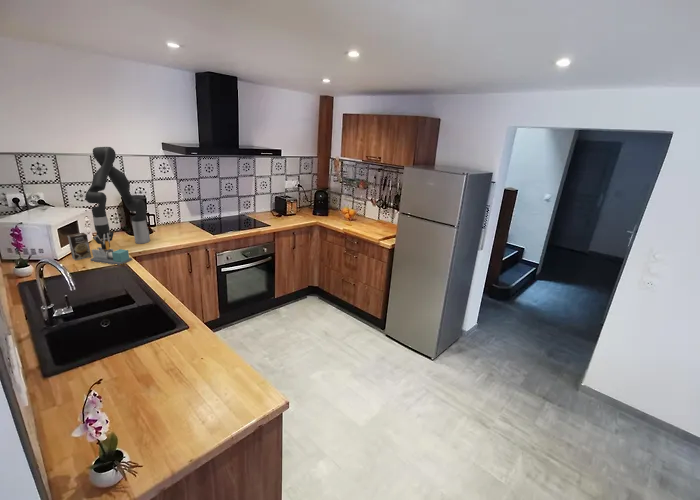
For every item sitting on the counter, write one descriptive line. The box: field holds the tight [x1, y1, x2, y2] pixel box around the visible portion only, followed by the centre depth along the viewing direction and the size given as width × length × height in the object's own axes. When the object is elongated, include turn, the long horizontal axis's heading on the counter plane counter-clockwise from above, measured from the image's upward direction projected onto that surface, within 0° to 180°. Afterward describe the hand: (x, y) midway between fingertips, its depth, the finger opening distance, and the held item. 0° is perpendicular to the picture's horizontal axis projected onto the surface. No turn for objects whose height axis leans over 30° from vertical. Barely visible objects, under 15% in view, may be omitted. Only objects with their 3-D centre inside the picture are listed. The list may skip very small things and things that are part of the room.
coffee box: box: [67, 232, 92, 261], centre depth 226 cm, size 9×6×16 cm
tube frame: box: [90, 246, 133, 266], centre depth 225 cm, size 22×10×8 cm, turn 78°
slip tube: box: [103, 241, 113, 258], centre depth 224 cm, size 12×4×11 cm, turn 78°
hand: (106, 248), depth 224 cm, fingers closed on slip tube, 2 cm apart
